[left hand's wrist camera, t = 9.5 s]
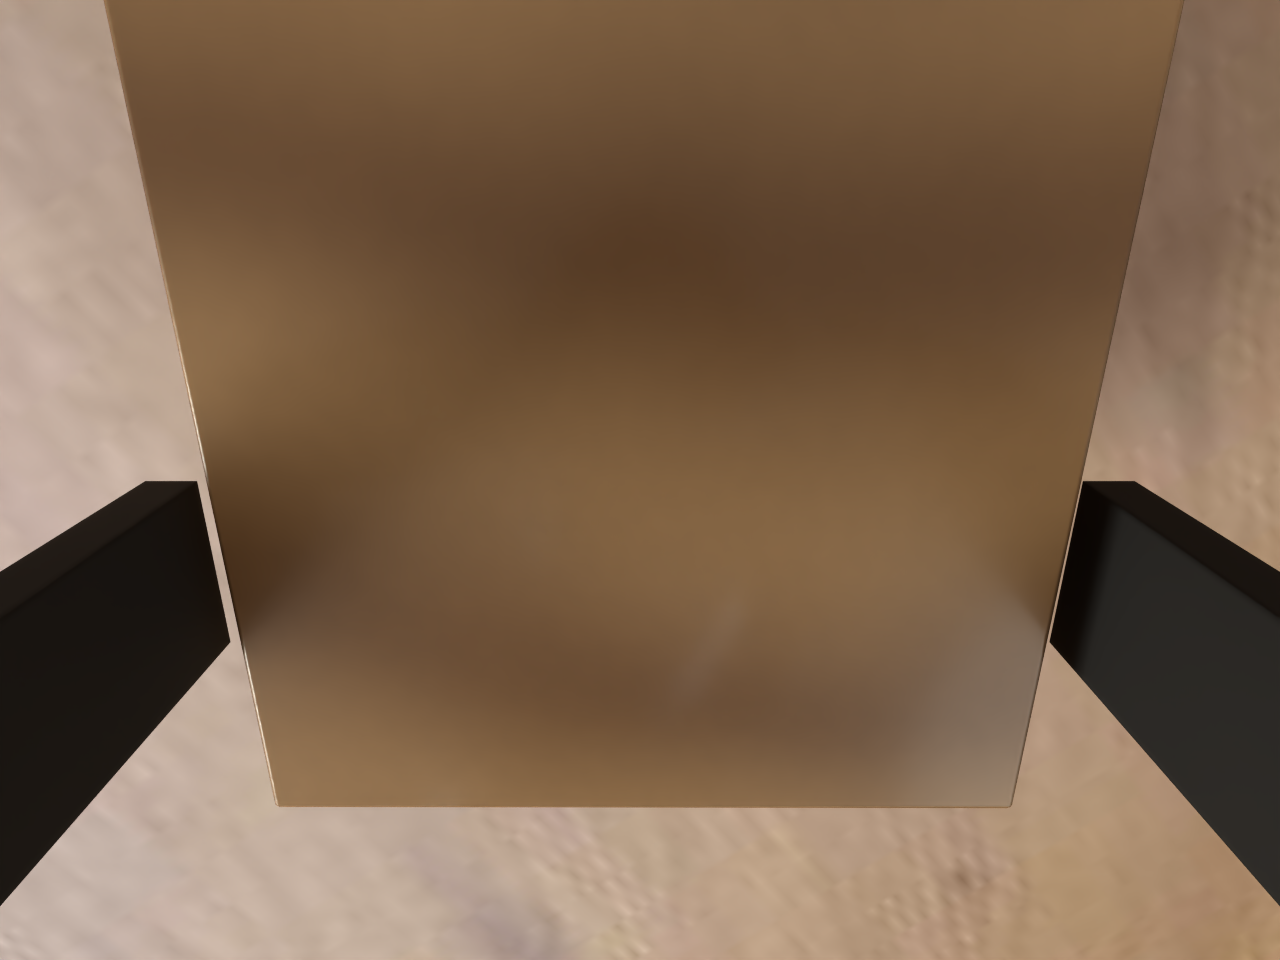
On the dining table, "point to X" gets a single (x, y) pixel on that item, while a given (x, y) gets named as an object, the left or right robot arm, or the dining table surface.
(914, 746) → the cabinet
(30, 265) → the dining table surface
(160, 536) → the left robot arm
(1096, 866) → the dining table surface
